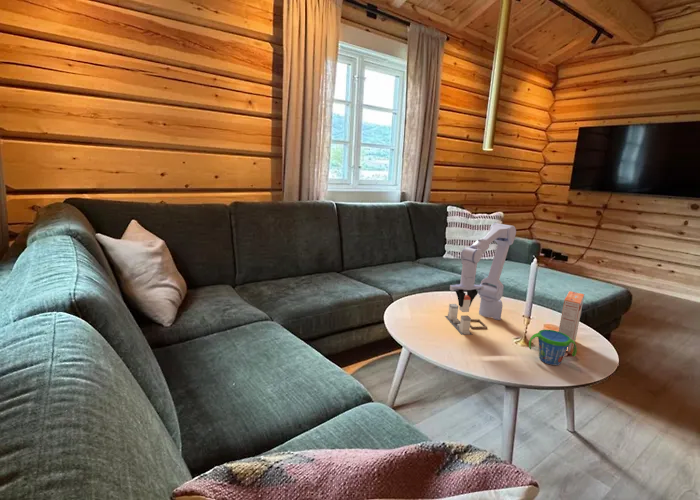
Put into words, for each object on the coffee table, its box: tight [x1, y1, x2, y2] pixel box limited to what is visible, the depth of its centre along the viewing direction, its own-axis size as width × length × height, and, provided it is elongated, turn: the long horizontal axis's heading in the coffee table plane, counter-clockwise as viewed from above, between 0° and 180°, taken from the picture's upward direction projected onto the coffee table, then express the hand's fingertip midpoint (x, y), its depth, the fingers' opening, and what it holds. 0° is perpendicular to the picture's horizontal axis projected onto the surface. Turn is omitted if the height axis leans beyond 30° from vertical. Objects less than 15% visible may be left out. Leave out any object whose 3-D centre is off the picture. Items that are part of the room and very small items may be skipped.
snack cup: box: [528, 329, 578, 366], centre depth 140 cm, size 16×10×10 cm
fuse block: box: [444, 315, 473, 336], centre depth 165 cm, size 5×19×2 cm, turn 7°
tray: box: [470, 318, 488, 330], centre depth 166 cm, size 7×8×2 cm
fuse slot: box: [459, 315, 472, 333], centre depth 158 cm, size 3×3×6 cm
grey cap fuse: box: [447, 303, 459, 320], centre depth 170 cm, size 3×3×6 cm
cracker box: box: [558, 290, 585, 354], centre depth 152 cm, size 14×6×21 cm, turn 144°
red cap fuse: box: [458, 294, 471, 313], centre depth 163 cm, size 3×3×6 cm
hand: (464, 306), depth 163 cm, fingers closed on red cap fuse, 3 cm apart
